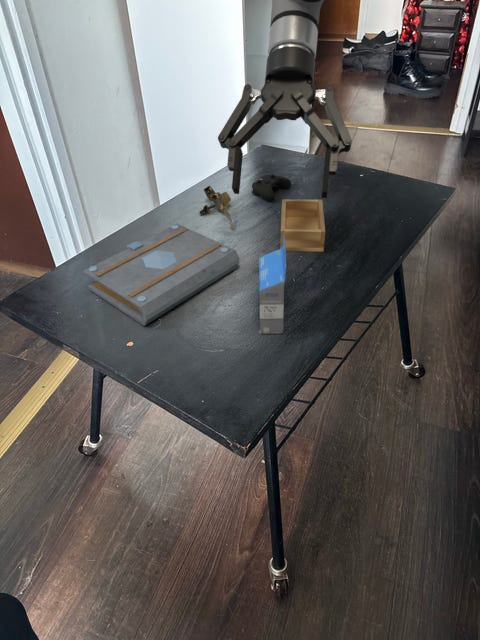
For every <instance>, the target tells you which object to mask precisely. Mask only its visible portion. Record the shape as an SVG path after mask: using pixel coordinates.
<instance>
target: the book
mask: <svg viewBox="0 0 480 640" xmlns="http://www.w3.org/2000/svg"><path fill="white" fill-rule="evenodd" d="M239 264H240V257H239V254H238V252H237V250H236V249H234V248H232V247H230V246H228V245H226V244H223V243H221V242H219V241H217V240H215V239H213V238H211V237H208V236H206V235H204V234H202V233H200V232H197V231H195V230H192V229H190V228H188V227H186V226H184V225H181V224H179V223H175V224H173V225H171V226H169V227H166V228H165V229H163V230H161V231H159V232H157V233H155V234H153V235H151V236H149V237H147V238H145V239H143V240H142V241H139V240H136V241H134V242H132V243H129V244H127V245H126V249H123V250H122V251H120V252H118V253H116V254H114V255H112V256H110V257H108V258H106V259H104V260H102V261H100V262H97V263H96V264H94V265H91V266H90V267H88V268H86V269H84V270H83V271H82V272H83V274H84V275H86V276H87V277H89V278H91V279H92V280H93V281H95V282H93V283H91V284H88V285H87V289H88V290H89V291H90V292H92V293H94V295H96V296H98V297H99V298H101V299H103V300H104V301H106V302H107V303H108V304H110V305H112V307H114V308H116V309H118V310H119V311H121V312H122V313H124V314H125V315H127V316H128V317H130V318H131V319H133V320H134V321H136V322H137V323H139V324H140V325H142V326H143V327H145V326H147V325H148V324H150V323H151V322H153V321H155V320H156V319H158V318H159V317H161V316H163V315H164V314H166V313H167V312H169V311H170V310H172V309H174V308H175V307H177V306H178V305H180V304H181V303H183V302H185V301H186V300H188V299H189V298H191V297H193V296H194V295H195V294H197V293H199V292H201V291H202V290H204V289H205V288H206V287H208V286H210V285H211V284H213V283H214V282H216V281H218V280H219V279H220V278H223V277H224V276H226V275H227V274H228V273H230V272H232V271H233V270H235V269H236V268H238V266H239Z"/></svg>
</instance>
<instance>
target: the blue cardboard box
mask: <svg viewBox="0 0 480 640" xmlns="http://www.w3.org/2000/svg"><path fill="white" fill-rule="evenodd" d="M287 266H288V265H287V251H286V244H285V234H284V239H283V247H282V248H281V249H280V248H279V249H277V250H274V251H272V252H269V253H267V254H264V255H262V256H260V257H259V258H258V330H259V331H258V332H259V334H260V335H284V330H285V293H286V292H285V290H286V278H287V277H286V275H287Z"/></svg>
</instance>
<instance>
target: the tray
mask: <svg viewBox="0 0 480 640" xmlns="http://www.w3.org/2000/svg"><path fill="white" fill-rule="evenodd" d="M323 203H324V202H323V199H299V198H298V199H297V198H296V199H295V198H293V199H292V198H291V199H287V198H285V199H284V198H282V199H281V216H280V245H279V249H281V248H282V247H283V239H284V234H285V244H286V252H311V253H312V252H314V253H315V252H316V253H322V252H325V239H326V223H325V215H324V214H325V213H324V204H323Z"/></svg>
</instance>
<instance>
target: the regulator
mask: <svg viewBox="0 0 480 640" xmlns="http://www.w3.org/2000/svg"><path fill="white" fill-rule="evenodd" d="M203 192H204V194H205V196H206V198H207V199H208V201H209V202H211V203H212V204H211V205H210V206H209V205H208V204H205V205H204V206H203V208H202V209H200V211H199V215H200V216H202V215H204V214H207V213H208V214H210V213H211V210H212V209H214V208H216V209H217V210H218V211H219V212H221V213H223V214H225V215H226V216H227V217H228V219H229V223H230V230H231V231H233V230H234V224H233V221H232V218H231V214H230V213H229V211H228V204H229V203H230V202H231V200H232V199H231V196H230V194H229V193H228V192H227V191H224V192H222V193H220V192H219V191H217V192H215V190H214V189H213V187H212V186H211V185H208V186H206V187H205V188H204V189H203Z"/></svg>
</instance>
